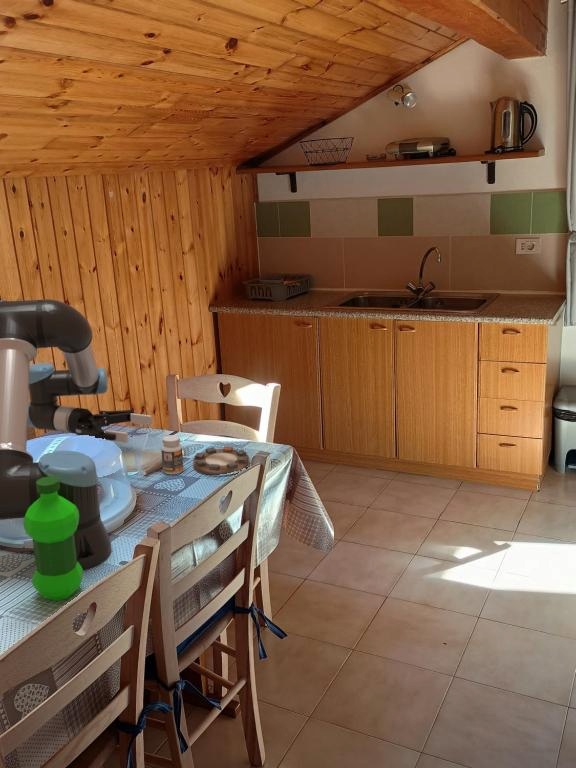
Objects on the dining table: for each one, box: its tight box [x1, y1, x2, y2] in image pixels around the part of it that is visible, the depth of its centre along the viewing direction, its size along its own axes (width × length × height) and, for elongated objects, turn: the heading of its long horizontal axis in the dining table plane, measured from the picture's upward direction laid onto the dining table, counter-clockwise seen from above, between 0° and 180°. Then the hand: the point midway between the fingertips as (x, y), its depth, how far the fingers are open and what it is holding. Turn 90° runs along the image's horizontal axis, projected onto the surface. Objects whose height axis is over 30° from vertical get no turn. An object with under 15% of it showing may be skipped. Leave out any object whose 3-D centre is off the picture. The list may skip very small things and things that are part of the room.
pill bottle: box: [160, 434, 184, 475], centre depth 210 cm, size 6×6×10 cm
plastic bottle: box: [22, 476, 84, 602], centre depth 150 cm, size 10×10×25 cm
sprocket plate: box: [192, 446, 251, 476], centre depth 215 cm, size 16×16×2 cm
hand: (139, 428), depth 211 cm, fingers open, 13 cm apart
